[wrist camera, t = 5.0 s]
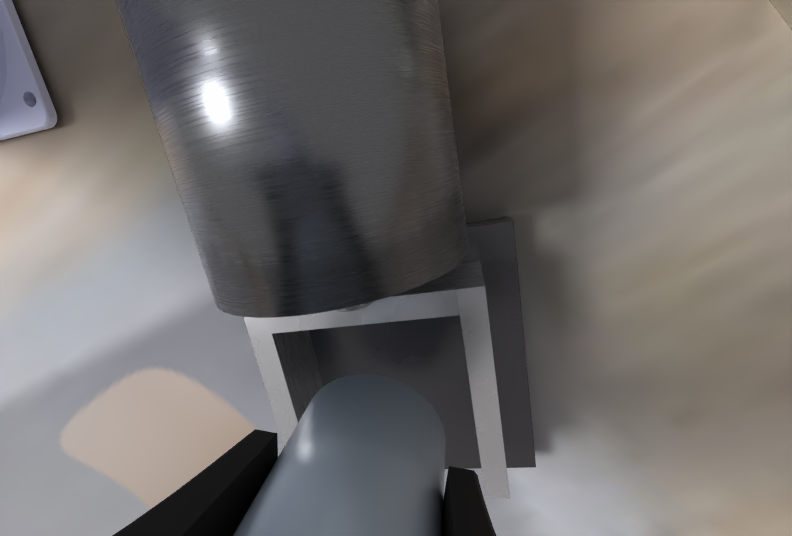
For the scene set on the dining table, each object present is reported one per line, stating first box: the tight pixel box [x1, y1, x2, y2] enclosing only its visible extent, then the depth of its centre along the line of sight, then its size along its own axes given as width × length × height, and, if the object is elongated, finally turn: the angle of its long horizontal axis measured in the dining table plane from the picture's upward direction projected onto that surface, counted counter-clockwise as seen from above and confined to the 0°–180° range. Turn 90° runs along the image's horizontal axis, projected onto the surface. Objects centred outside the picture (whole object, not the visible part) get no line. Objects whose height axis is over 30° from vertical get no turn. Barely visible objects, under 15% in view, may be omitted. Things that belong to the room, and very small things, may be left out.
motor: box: [116, 0, 536, 498], centre depth 11 cm, size 19×10×7 cm, turn 11°
